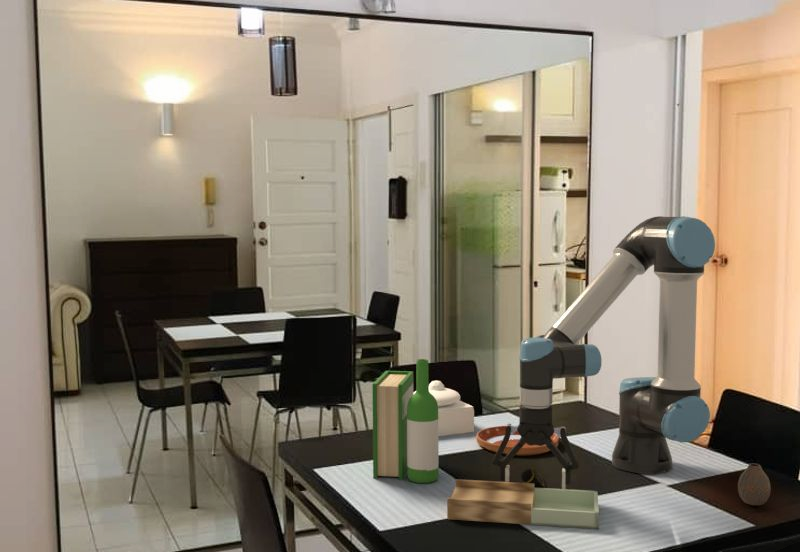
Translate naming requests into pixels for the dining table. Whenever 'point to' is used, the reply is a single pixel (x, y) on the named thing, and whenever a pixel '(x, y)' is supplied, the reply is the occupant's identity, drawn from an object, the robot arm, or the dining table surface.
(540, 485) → the tape measure
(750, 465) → the vase
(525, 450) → the saucer
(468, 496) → the wooden tray
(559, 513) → the tray
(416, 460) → the wine bottle
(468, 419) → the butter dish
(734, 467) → the dining table surface
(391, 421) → the hardback book
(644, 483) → the dining table surface
